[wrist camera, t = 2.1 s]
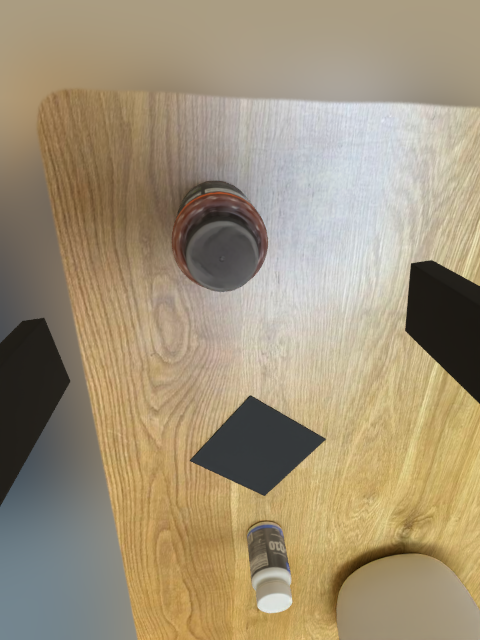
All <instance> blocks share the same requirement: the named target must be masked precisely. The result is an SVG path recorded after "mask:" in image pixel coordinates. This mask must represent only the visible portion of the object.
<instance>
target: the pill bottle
mask: <svg viewBox="0 0 480 640" xmlns="http://www.w3.org/2000/svg"><path fill="white" fill-rule="evenodd" d="M247 541H248V551H249V561H250V571H251V581H252V586H253V588H254V589H255V590H256V599H257V606H258V608H259V609H260V610H261V611H263V612H267V613H277V612H281V611H284V610H286V609H288V608H289V607H290V606H291V604H292V595H291V589H290V584H291V573H290V568H289V563H288V557H287V552H286V547H285V542H284V536H283V532H282V529H281V527H280V526H279V525H277V524H276V523H273V522H260V523H258V524H255V525H254V526H252V527H251V528H250V529H249V530H248V533H247Z"/></svg>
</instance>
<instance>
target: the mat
mask: <svg viewBox="0 0 480 640" xmlns="http://www.w3.org/2000/svg"><path fill="white" fill-rule="evenodd" d="M325 440H326V439H325V438H323V437H321V436H320V435H318V434H316V433H314V432H313V431H311V430H309V429H307V428H306V427H304V426H302V425H300V424H299V423H297V422H295V421H294V420H292V419H290V418H288V417H287V416H285V415H283V414H281V413H280V412H278V411H276V410H274V409H273V408H271V407H269V406H267V405H266V404H264V403H262V402H261V401H259V400H257V399H255V398H254V397H252V396H249V397H248V399H247V400H246V401H245V402H244V403H243V404H242V405H241V406H240V407H239V408H238V409H237V410H236V411H235V413H234V414H233V415H232V416H231V417H230V418H229V419H228V420H227V421H226V422H225V423H224V424H223V425H222V427H221V428H220V429H219V430H218V431H217V432H216V433H215V434H214V435H213V436H212V437H211V438H210V439H209V441H208V442H207V443H206V444H205V445H204V446H203V447H202V448H201V449H200V450H199V451H198V452H197V453H196V455H195V456H194V457H193V458H192V459H191V460H190V461H191V462H193V463H195V464H197V465H200V466H202V467H204V468H206V469H208V470H210V471H212V472H215V473H217V474H219V475H221V476H223V477H225V478H227V479H230V480H232V481H234V482H236V483H238V484H240V485H242V486H244V487H247V488H249V489H251V490H253V491H255V492H257V493H259V494H262V495H264V496H265V495H266V494H267V493H268V492H269V491H271V490H272V489H273V488H274V487H275V486H276V485H277V484H278V483H279V482H280V481H281V480H282V479H283V478H285V477H286V476H287V475H288V474H289V473H290V472H291V471H292V470H293V469H294V468H295V467H296V466H298V465H299V464H300V463H301V462H302V461H303V460H304V459H305V458H306V457H307V456H308V455H309V454H311V453H312V452H313V451H314V450H315V449H316V448H317V447H318V446H319V445H320V444H321V443H322V442H323V441H325Z"/></svg>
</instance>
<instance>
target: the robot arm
mask: <svg viewBox="0 0 480 640" xmlns="http://www.w3.org/2000/svg"><path fill="white" fill-rule="evenodd" d="M405 331H406V332H407V333H408V334H409V335H410V336H411V337H412V338H413V339H414V340H415V341H416V342H417V343H418V344H419V345H420V346H421V347H422V348H423V349H424V350H425V351H426V352H427V353H428V354H429V355H430V356H431V357H432V358H434V359H435V360H436V361H437V362H438V363H439V364H440V365H441V366H442V367H443V368H444V369H445V370H446V371H447V372H448V373H449V374H450V375H451V376H452V377H453V378H454V379H455V380H456V381H457V382H458V383H459V384H460V385H461V386H462V387H463V388H464V389H465V390H466V391H467V392H468V393H469V394H470V395H471V396H472V397H473V398H474V399H475V400H476V401H477V402H478V403H480V286H478V285H476V284H475V283H473V282H471V281H469V280H467V279H465V278H464V277H462V276H460V275H458V274H456V273H454V272H453V271H451V270H449V269H447V268H445V267H443V266H442V265H440V264H438V263H436V262H434V261H432V260H431V261H424V262H417V263H411V270H410V281H409V293H408V304H407V316H406V328H405ZM69 383H70V379H69V377H68V374H67V372H66V370H65V367H64V365H63V363H62V360H61V357H60V355H59V353H58V350H57V348H56V345H55V343H54V340H53V338H52V336H51V333H50V331H49V328H48V326H47V323H46V321H45V319H44V318H40V319H33V320H27V321H22V322H21V323H20V324H19V325H18V326H17V327H16V328H15V329H14V330H13V331H12V332H11V333H10V334H9V335H8V336H7V337H6V338H5V339H4V340H3V341H2V342H1V343H0V505H1V504H2V502H3V500H4V499H5V497H6V495H7V493H8V491H9V490H10V488H11V486H12V484H13V483H14V481H15V479H16V477H17V475H18V474H19V472H20V470H21V468H22V466H23V465H24V463H25V461H26V459H27V458H28V456H29V454H30V452H31V450H32V448H33V447H34V445H35V443H36V441H37V440H38V438H39V436H40V435H41V433H42V431H43V429H44V427H45V426H46V424H47V422H48V420H49V418H50V417H51V415H52V413H53V411H54V410H55V408H56V406H57V404H58V402H59V401H60V399H61V397H62V395H63V394H64V391H65V390H66V388H67V386H68V385H69Z"/></svg>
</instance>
